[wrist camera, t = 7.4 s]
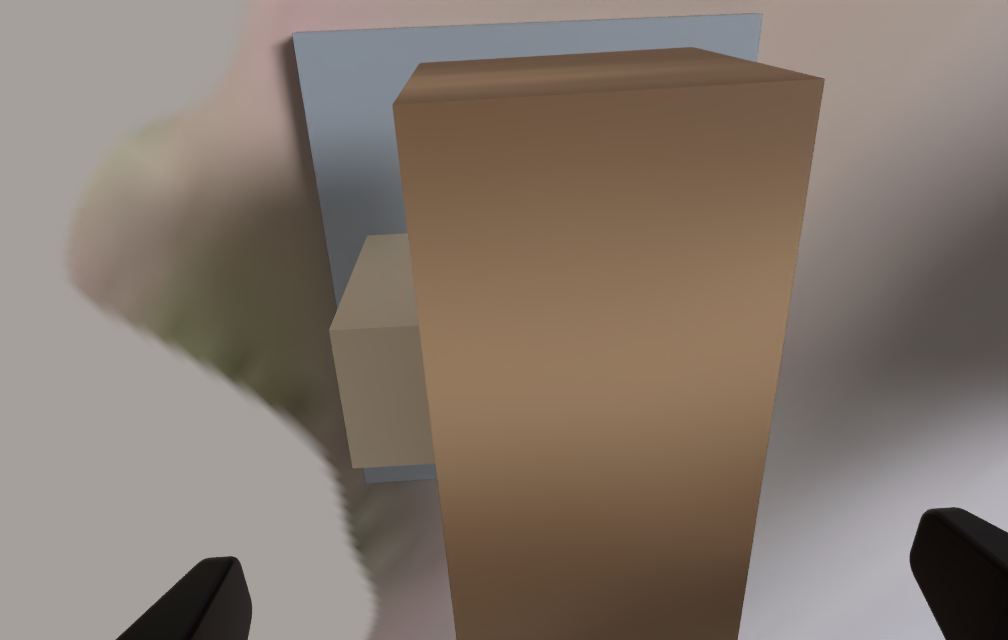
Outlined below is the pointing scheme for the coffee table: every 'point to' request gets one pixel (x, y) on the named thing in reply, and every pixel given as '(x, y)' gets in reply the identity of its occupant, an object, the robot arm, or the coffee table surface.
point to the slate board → (380, 205)
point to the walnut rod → (602, 328)
